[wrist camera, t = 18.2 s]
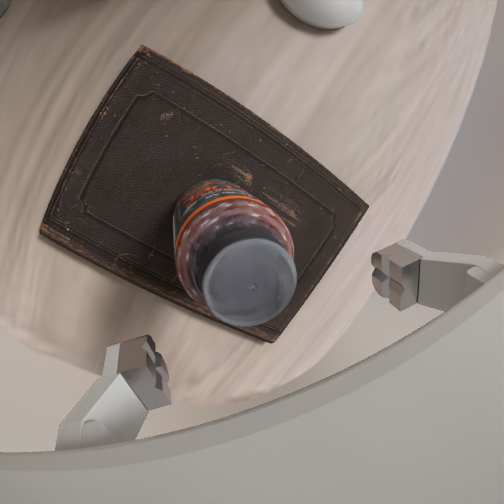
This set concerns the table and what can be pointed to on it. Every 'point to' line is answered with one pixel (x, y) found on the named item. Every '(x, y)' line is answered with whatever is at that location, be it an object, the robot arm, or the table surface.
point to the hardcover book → (189, 183)
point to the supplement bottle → (233, 253)
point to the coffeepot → (3, 6)
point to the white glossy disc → (325, 12)
